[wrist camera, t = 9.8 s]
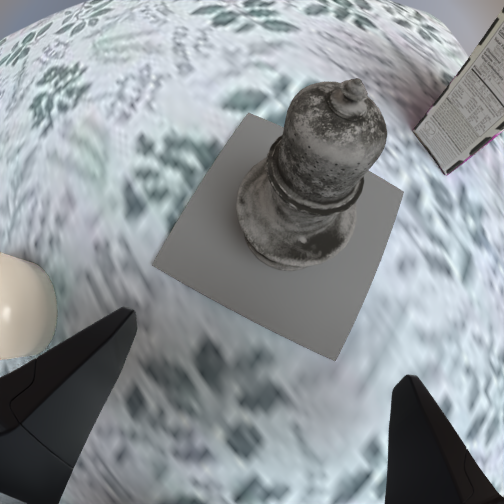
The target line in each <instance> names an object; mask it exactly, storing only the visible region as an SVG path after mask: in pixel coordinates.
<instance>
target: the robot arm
mask: <svg viewBox="0 0 504 504" xmlns="http://www.w3.org/2000/svg"><path fill="white" fill-rule="evenodd" d="M136 332H137V321H136V312H135V311H134V310H133V309H130V308H127V307H121V308H119V309H118V310H116V311H114V312H112V313H111V314H109V315H107V316H106V317H104V318H102V319H100V320H99V321H97V322H95V323H94V324H92V325H90V326H89V327H87V328H85V329H83V330H82V331H80V332H78V333H77V334H75V335H73V336H72V337H70V338H68V339H67V340H65V341H63V342H62V343H60V344H58V345H57V346H55V347H53V348H52V349H50V350H48V351H47V352H45V353H43V354H42V355H40V356H38V357H37V359H36V358H35V359H33V360H32V361H30V362H28V363H27V364H25V365H23V366H21V367H20V368H18V369H16V370H14V371H12V372H10V373H8V374H6V375H4V376H2V377H0V504H59V501H60V499H61V496H62V494H63V492H64V489H65V487H66V485H67V482H68V480H69V478H70V476H71V473H72V471H73V468H74V466H75V464H76V462H77V460H78V457H79V455H80V453H81V451H82V449H83V447H84V445H85V442H86V440H87V438H88V436H89V434H90V432H91V430H92V428H93V426H94V424H95V422H96V420H97V418H98V416H99V414H100V412H101V410H102V408H103V406H104V404H105V402H106V400H107V398H108V396H109V394H110V392H111V390H112V388H113V386H114V384H115V383H116V381H117V379H118V377H119V375H120V373H121V370H122V368H123V365H124V363H125V360H126V358H127V355H128V353H129V350H130V348H131V345H132V343H133V340H134V338H135V335H136ZM385 504H504V497H502V496H501V495H500V494H499V493H498V492H497V491H496V490H495V488H494V487H493V485H492V484H491V483H490V481H489V480H488V479H487V477H486V476H485V475H484V473H483V472H482V470H481V469H480V468H479V466H478V465H477V463H476V462H475V460H474V459H473V457H472V456H471V454H470V453H469V451H468V449H466V446H465V445H464V443H463V442H462V440H461V439H460V437H459V435H458V434H457V432H456V431H455V429H454V428H453V426H452V425H451V423H450V422H449V420H448V419H447V417H446V416H445V415H444V413H443V412H442V410H441V409H440V407H439V406H438V404H437V403H436V401H435V400H434V399H433V397H432V396H431V394H430V393H429V391H428V390H427V389H426V387H425V386H424V384H423V383H422V382H421V380H420V379H419V378H418V377H417V376H416V375H406V376H404V377H403V378H402V380H401V381H400V382H399V383H398V384H397V385H396V386H395V387H394V389H393V392H392V401H391V413H390V423H389V440H388V468H387V483H386V495H385Z"/></svg>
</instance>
